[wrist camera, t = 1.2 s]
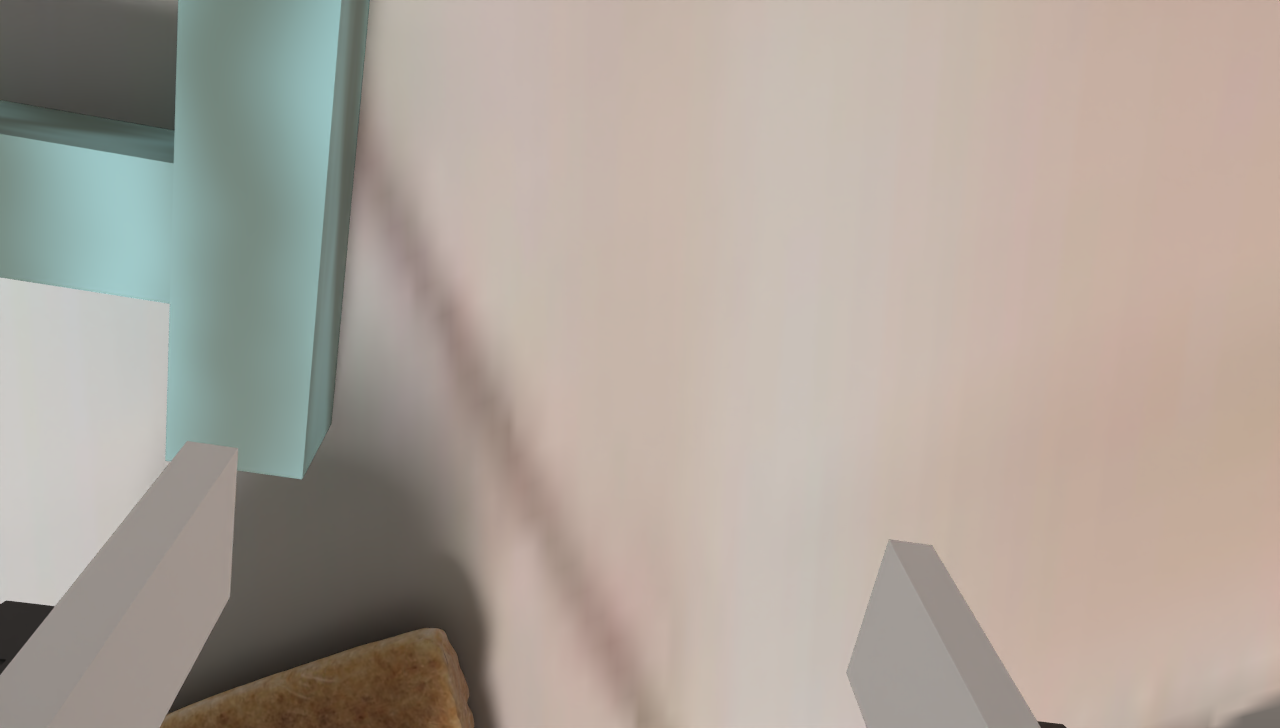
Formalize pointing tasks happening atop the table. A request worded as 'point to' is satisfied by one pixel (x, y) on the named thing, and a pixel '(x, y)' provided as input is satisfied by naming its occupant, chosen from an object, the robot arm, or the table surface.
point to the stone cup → (349, 691)
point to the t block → (213, 217)
